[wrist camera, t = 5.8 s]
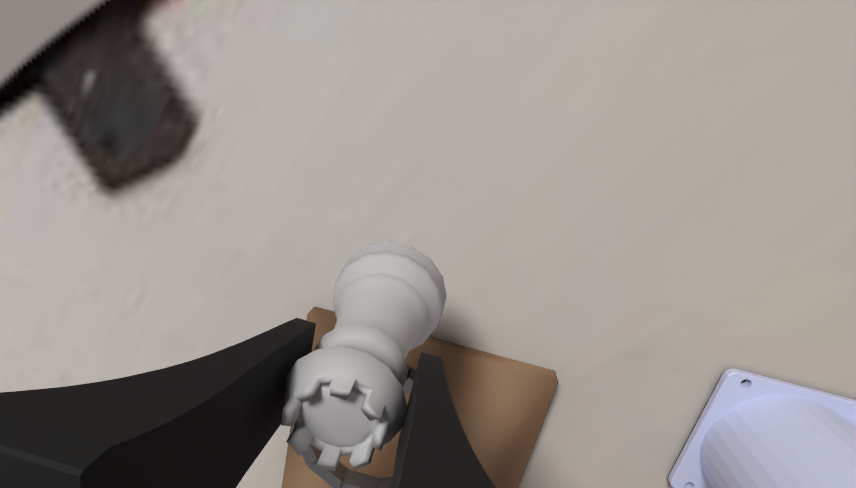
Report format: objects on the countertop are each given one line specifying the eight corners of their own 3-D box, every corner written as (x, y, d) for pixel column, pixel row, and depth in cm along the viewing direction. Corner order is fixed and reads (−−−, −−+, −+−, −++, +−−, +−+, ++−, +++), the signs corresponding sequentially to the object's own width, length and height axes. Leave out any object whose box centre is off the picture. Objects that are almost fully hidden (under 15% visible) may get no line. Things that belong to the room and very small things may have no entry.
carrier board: (555, 371, 23) (558, 381, 22) (472, 588, 28) (472, 604, 27) (314, 306, 23) (307, 314, 23) (280, 530, 29) (273, 544, 28)
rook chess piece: (465, 265, 17) (459, 398, 9) (421, 350, 18) (384, 526, 10) (363, 219, 16) (270, 316, 9) (327, 309, 18) (221, 457, 10)
